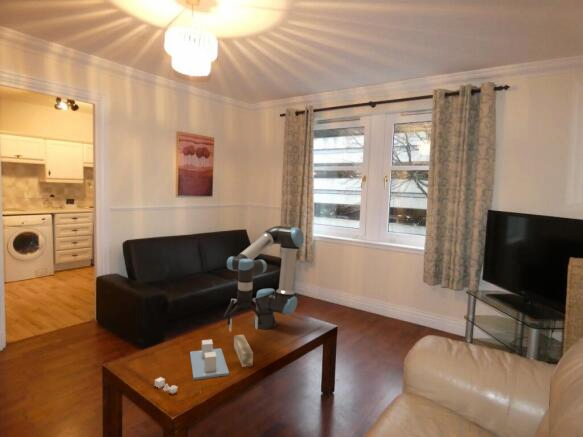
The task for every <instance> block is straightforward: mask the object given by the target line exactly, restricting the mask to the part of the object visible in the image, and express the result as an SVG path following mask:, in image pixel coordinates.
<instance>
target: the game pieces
mask: <svg viewBox="0 0 583 437" xmlns="http://www.w3.org/2000/svg"><path fill="white" fill-rule="evenodd" d="M155 386H156V388H157V387H158V388H157V389H161V388H162V387H163V389H162V391H163V390H164V391H163V392H168V393H169V394H172V395H174V394H176V393H177V392H178V388H179V386H178V385H177V386H176V385H171V386H169V384H168V383H166V379H165V378H163V377H162V376H159V377H158V378H155V379H154V387H155Z"/></svg>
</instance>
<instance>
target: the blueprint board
mask: <svg viewBox="0 0 583 437" xmlns="http://www.w3.org/2000/svg"><path fill="white" fill-rule="evenodd" d="M189 358H190V364H191V371H192V380H193V381H197V380H204V379H205V380H206V379H212V378H220V376H221V377H226V376H230V372H229V368H228V366H227V363H226V359H225V356H224V353H223V351H222V348H220V347H219V348H214V343H213V339H204V340H203V339H202V340H201V350H193V351H190V352H189Z"/></svg>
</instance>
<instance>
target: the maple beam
mask: <svg viewBox="0 0 583 437" xmlns="http://www.w3.org/2000/svg"><path fill="white" fill-rule="evenodd" d="M233 348H234V351H235V353H236V356H237V358H238V360H239V362H240V364H241V366H242V368H245V367H246V366H247V367H252V366H253V362H254V352H253V350H252V348H251V347H250V344H249V343H248V341H247V338H246V337H245V335H244V334H238V335H237V334H235V335H233Z"/></svg>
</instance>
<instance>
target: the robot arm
mask: <svg viewBox="0 0 583 437" xmlns="http://www.w3.org/2000/svg"><path fill="white" fill-rule="evenodd" d="M303 244H304V232H303V231H302V229H300V228H299V227H294V226H284V225H283V226H282V225H275V226H273V227H270V228H268V229H267V230H265V231H264V232H262V233H261V234H260V237H259V238H257V239H256V240H255V241H254V242H253V243H252V244H250V245H249V246H248V247H247V248H245V249H244V250H243V251H242V252H240V253H239V254H238V255H237V256H229V257H228V258H227V260H226V268H227V269H229V270H231V271H233V272H238V277H237V278H238V279H237V294H236V297H237V298H231V299H230V303H229V305H228V306H227V309H226V310H225V312H224V314H223V317H224V318H225V319H227V325H228V330H229V332H230V333H231V332H232V326H233V325H232V324H233V318H232V317H233V316H234V315H235V314H236V312H237V311H238V310H239V309H240V308H242V309H244V308H248V307H250V309H251V310H252V311H253V312H254V313H255V314H254V317H253V320H252V326H253V327H254V328H255V330H258V329H260V330H271V329H274V328H275V327H276V326H277V319H276V316H275V313H279V314H282V315H287V316H289V315H292V314H293V313H294V312H295V310H296V308H297V305H298V297H297V296H295V291H294V290H293V287H294V280H295V279H294V277H295V276H294V275H295V269H296V268H295V267H296V257H297V252H298V251H299V249H300V248H301V247H302V246H303ZM273 245H280V249H281V250H282V251H281V252H282V254H281V255H282V256H281V264H280V272H279V282H278V283H279V284H278V288H277V289H276V290H275V289H274V288H262V289H259V290H257V291H256V297H255V296H254V297H253V285H254V283H253V282H254V280H253V279H254V276H258V275H261V274H263V273H265V272H266V271H267V270H268V269H267V268H268V264H267V262H266V261H265V260H263V259H256V258H257V257H258V256H259V255H260V254H261V253H262V252H264V251H265V250H266V249H267V248H268V247H272V246H273ZM253 302H254V304H255V307H256V308H255V307H254V306H253V305H252V303H253ZM236 303H237V304H236ZM234 304H235V306H234ZM233 306H234V308H233ZM232 308H233V309H232Z"/></svg>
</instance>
